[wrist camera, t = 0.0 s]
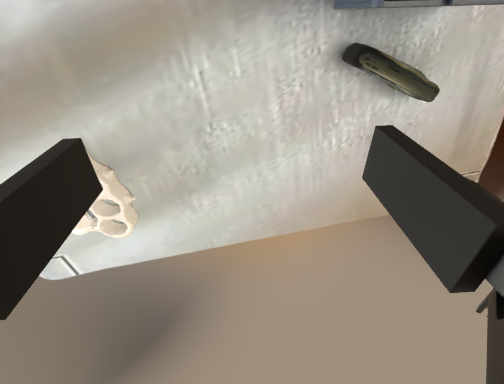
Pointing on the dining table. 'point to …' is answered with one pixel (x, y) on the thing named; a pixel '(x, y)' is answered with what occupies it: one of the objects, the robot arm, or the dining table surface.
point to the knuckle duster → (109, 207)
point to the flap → (377, 3)
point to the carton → (411, 3)
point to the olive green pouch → (391, 71)
